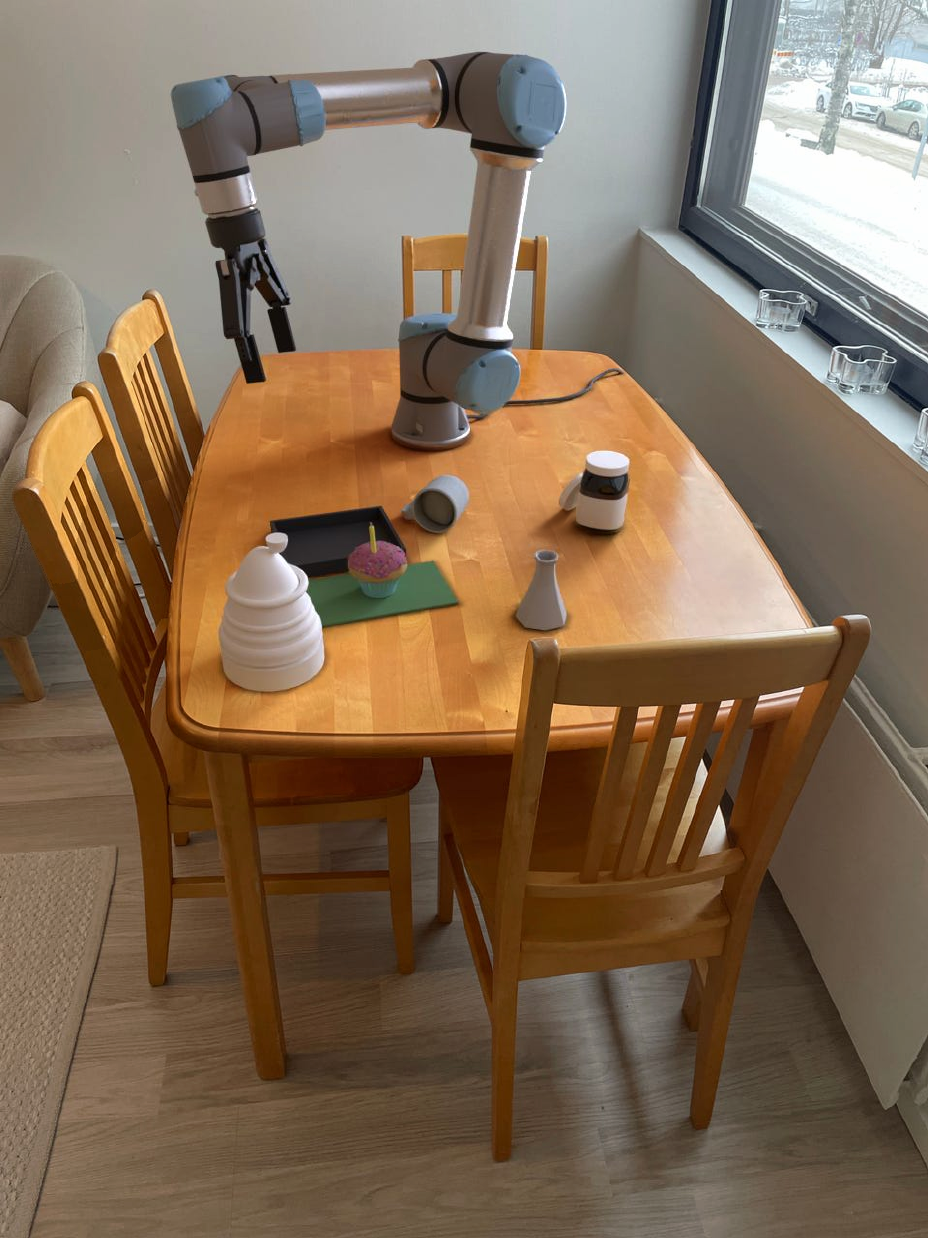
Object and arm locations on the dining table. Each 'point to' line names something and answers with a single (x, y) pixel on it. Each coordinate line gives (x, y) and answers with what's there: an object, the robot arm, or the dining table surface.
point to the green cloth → (349, 604)
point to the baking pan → (332, 538)
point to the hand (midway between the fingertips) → (272, 366)
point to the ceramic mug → (438, 504)
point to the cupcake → (377, 566)
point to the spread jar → (599, 493)
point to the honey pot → (270, 623)
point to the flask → (543, 596)
